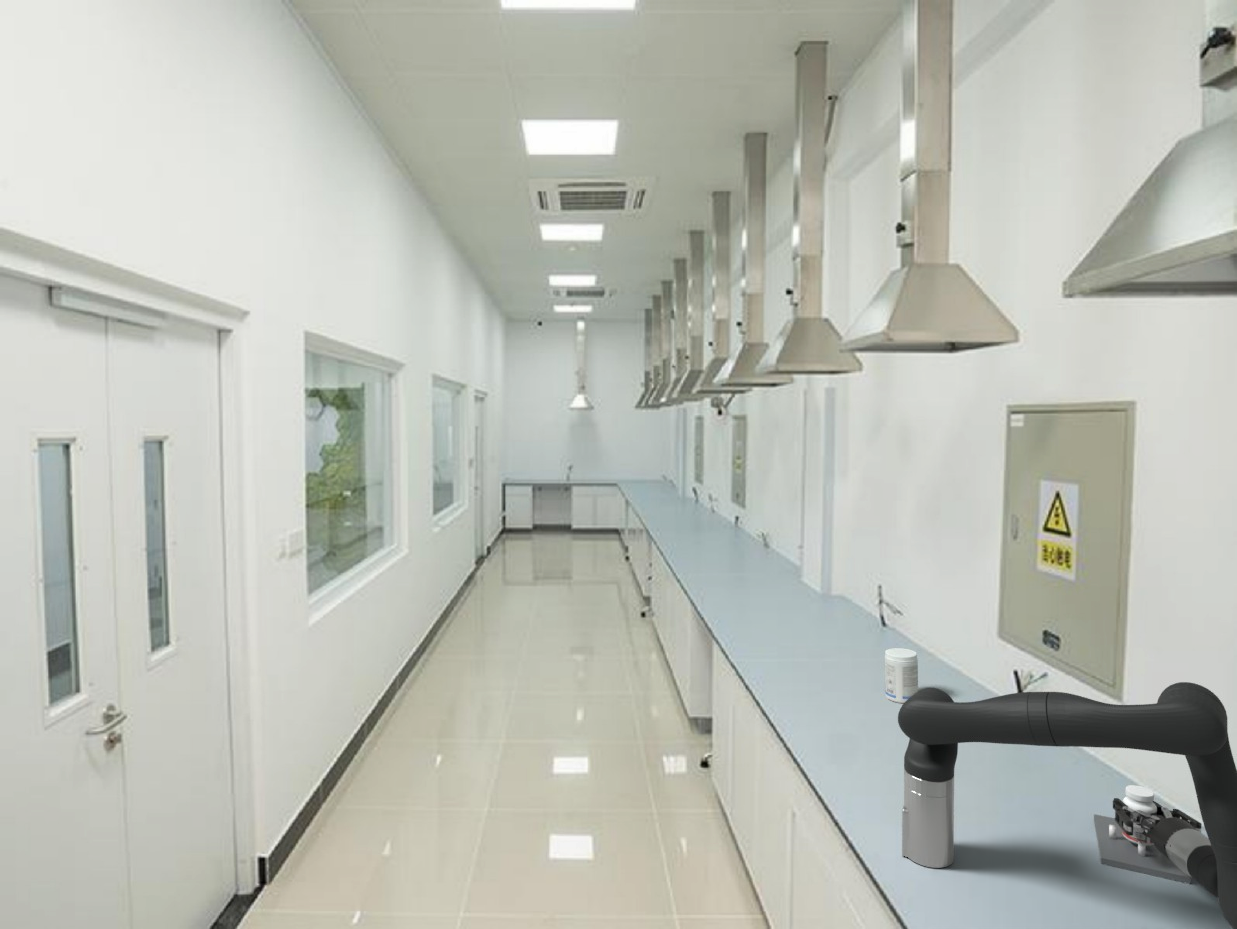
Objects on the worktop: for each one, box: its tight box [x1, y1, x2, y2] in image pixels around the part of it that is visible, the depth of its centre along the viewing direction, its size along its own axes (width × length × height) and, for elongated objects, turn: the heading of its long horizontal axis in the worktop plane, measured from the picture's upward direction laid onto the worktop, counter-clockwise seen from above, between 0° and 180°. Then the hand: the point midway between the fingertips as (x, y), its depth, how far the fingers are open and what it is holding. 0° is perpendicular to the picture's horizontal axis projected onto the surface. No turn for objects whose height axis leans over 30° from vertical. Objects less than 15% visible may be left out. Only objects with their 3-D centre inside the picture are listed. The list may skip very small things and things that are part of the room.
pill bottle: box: [1122, 784, 1157, 846], centre depth 149 cm, size 6×6×10 cm
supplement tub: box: [884, 647, 919, 704], centre depth 231 cm, size 10×10×15 cm
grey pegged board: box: [1093, 813, 1192, 884], centre depth 149 cm, size 14×18×4 cm
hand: (1131, 802), depth 151 cm, fingers open, 5 cm apart
